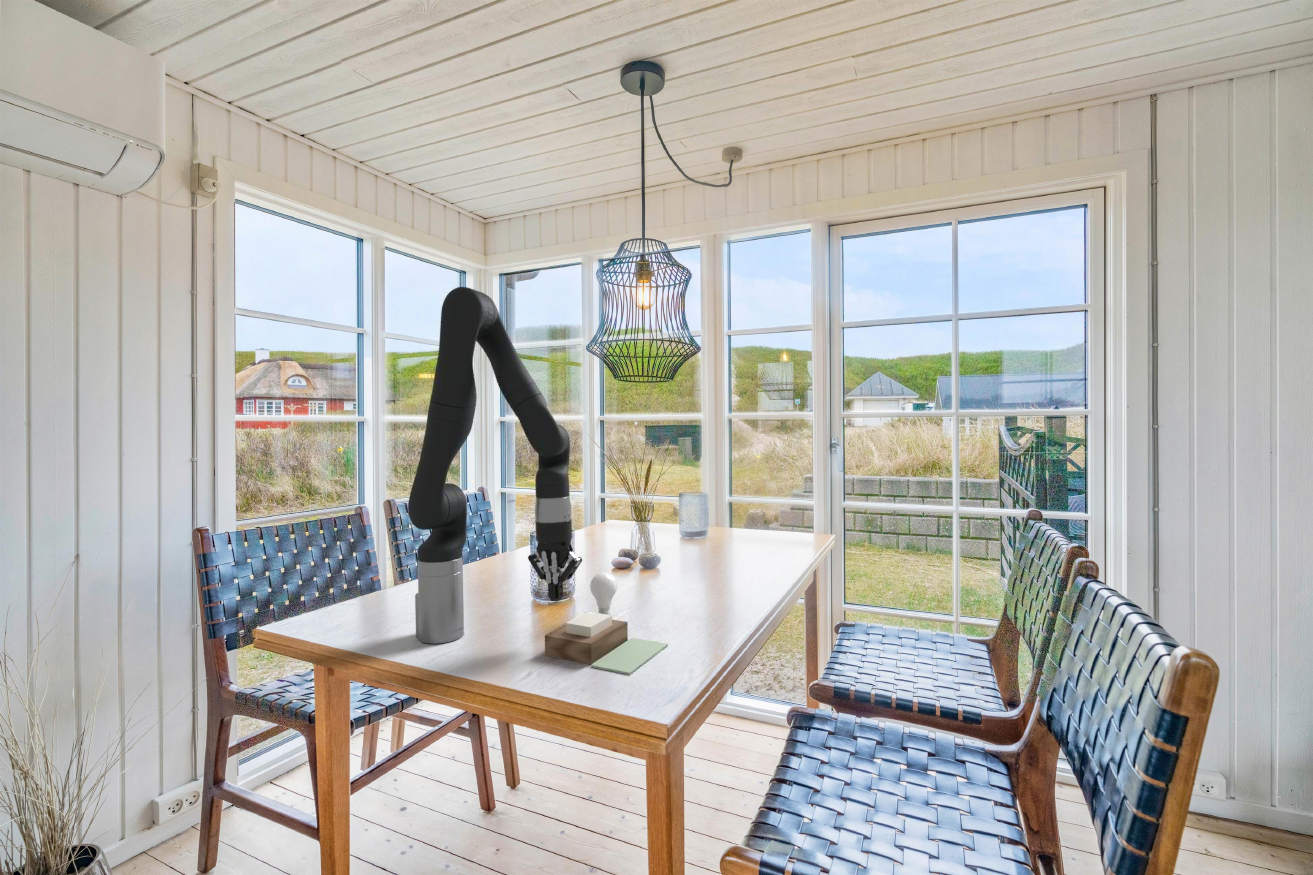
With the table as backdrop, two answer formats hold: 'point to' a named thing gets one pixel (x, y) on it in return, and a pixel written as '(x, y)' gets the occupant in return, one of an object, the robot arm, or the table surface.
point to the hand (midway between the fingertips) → (556, 600)
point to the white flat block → (588, 624)
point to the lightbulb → (603, 591)
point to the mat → (629, 656)
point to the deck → (585, 643)
